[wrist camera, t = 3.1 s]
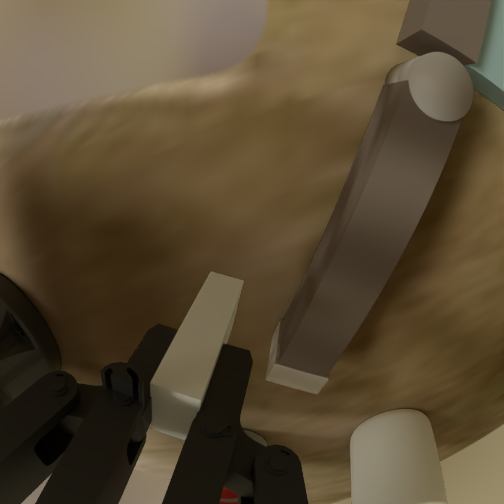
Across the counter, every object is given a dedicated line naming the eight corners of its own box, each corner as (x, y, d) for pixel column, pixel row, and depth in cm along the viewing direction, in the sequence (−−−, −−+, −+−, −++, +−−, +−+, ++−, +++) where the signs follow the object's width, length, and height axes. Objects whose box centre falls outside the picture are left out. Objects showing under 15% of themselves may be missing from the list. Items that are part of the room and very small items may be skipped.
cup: (395, 396, 24) (413, 499, 15) (460, 426, 25) (479, 503, 16) (332, 438, 27) (330, 529, 18) (403, 462, 29) (411, 534, 20)
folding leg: (390, 52, 13) (418, 36, 9) (443, 81, 13) (484, 77, 9) (272, 335, 22) (265, 383, 18) (316, 349, 22) (317, 398, 18)
